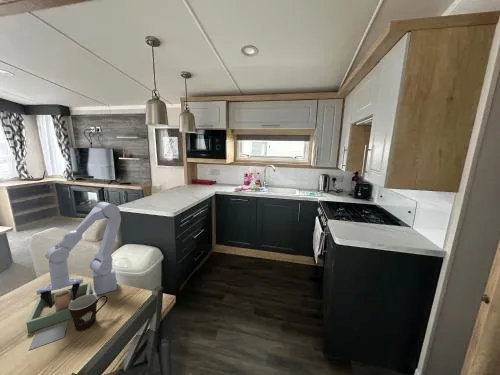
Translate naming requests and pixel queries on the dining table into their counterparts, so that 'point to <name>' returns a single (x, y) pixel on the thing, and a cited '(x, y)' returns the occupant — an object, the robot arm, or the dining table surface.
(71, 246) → the robot arm
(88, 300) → the coffee mug
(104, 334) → the dining table surface
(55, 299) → the pink plant pot
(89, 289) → the green square frame
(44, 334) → the slate mat
